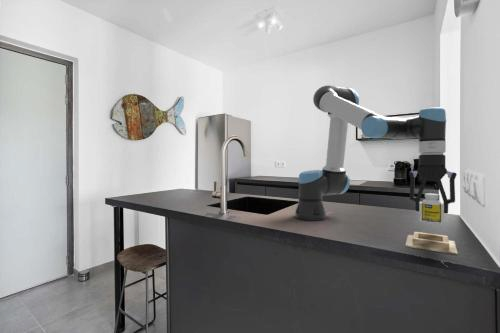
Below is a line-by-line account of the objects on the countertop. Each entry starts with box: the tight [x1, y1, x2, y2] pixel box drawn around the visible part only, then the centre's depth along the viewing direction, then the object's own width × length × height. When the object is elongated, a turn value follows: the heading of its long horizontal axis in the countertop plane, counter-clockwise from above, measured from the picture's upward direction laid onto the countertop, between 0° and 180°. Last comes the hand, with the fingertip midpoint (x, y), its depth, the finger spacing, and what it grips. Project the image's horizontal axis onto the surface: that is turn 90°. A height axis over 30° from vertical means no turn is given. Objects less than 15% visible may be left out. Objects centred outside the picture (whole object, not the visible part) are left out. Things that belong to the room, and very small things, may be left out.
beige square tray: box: [404, 231, 458, 256], centre depth 92 cm, size 14×14×2 cm
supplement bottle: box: [421, 192, 442, 225], centre depth 92 cm, size 5×5×10 cm
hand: (431, 221), depth 92 cm, fingers closed on supplement bottle, 5 cm apart
